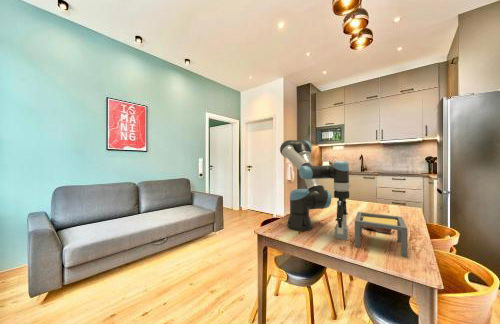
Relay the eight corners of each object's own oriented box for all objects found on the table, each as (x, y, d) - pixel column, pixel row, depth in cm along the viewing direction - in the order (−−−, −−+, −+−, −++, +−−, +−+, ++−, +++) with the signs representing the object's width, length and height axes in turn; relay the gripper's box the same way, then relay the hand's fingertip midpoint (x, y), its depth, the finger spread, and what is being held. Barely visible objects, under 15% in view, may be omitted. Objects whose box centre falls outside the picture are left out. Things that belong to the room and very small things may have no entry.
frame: (354, 246, 95) (354, 220, 95) (357, 233, 111) (357, 211, 111) (407, 257, 84) (407, 228, 84) (402, 241, 101) (402, 216, 101)
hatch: (362, 225, 95) (362, 223, 95) (363, 218, 107) (363, 216, 107) (398, 229, 88) (398, 227, 88) (395, 221, 100) (395, 219, 100)
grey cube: (334, 238, 105) (334, 227, 105) (336, 234, 110) (336, 224, 110) (347, 240, 102) (347, 229, 102) (348, 237, 107) (348, 226, 107)
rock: (355, 210, 126) (380, 207, 124) (357, 227, 127) (382, 224, 124) (365, 219, 111) (394, 216, 108) (368, 238, 111) (397, 235, 109)
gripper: (346, 193, 93) (347, 238, 93) (351, 188, 114) (352, 224, 114) (329, 192, 97) (330, 235, 97) (337, 187, 118) (338, 222, 118)
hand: (342, 229), depth 105 cm, fingers open, 13 cm apart
